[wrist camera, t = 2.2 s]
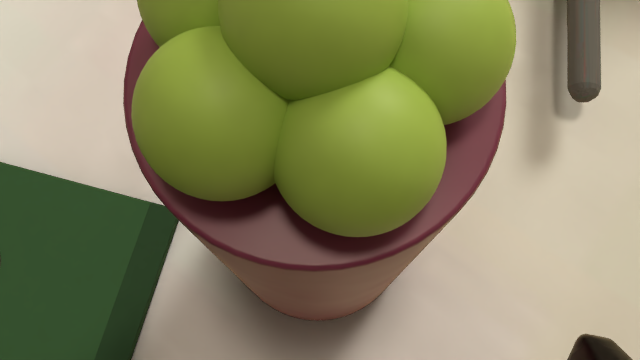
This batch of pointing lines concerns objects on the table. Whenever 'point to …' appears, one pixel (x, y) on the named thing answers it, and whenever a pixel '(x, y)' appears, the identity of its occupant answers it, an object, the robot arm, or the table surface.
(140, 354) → the table surface
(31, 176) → the cloth
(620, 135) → the table surface
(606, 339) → the robot arm
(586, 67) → the walkie-talkie
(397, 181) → the grape tub
